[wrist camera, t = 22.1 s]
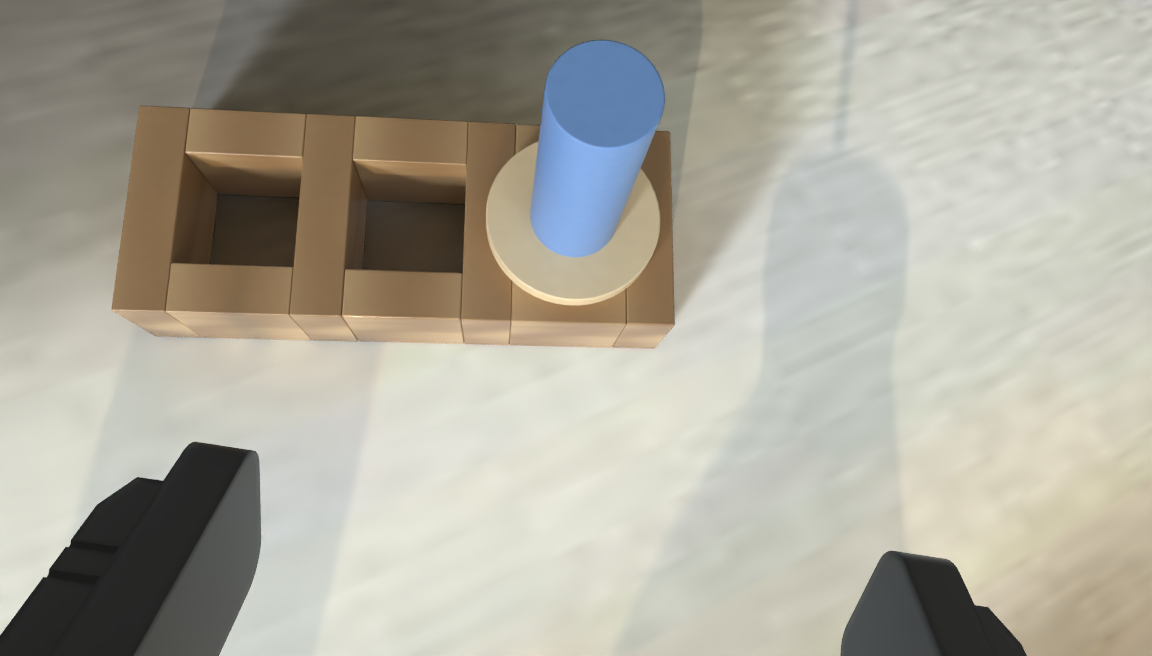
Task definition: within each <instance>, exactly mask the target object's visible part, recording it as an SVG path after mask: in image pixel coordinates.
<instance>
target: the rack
mask: <svg viewBox="0 0 1152 656" xmlns="http://www.w3.org/2000/svg"><path fill="white" fill-rule="evenodd" d="M539 133H540V125H523V124H517V125H515V124H510V123H489V122H467V121H449V120H429V119H408V118H387V117H367V116H356V117H355V116H344V115H323V114H307V115H306V114H300V113H279V112H259V111H238V110H218V109H197V108H191V109H190V108H179V107H159V106H139V113H138V121H137V128H136V135H135V142H134V150H133V157H132V164H131V171H130V179H129V186H128V193H127V200H126V208H125V215H124V222H123V229H122V237H121V244H120V251H119V259H118V266H117V273H116V280H115V288H114V295H113V302H112V311H114V312H116V313H117V314H119V315H121V316H122V317H124V318H126V319H127V320H129V321H131V322H132V323H134V324H136V325H138V326H139V327H141V328H143V329H144V330H146V331H148V332H149V333H151V334H153V335H154V336H169V337H208V338H248V339H288V340H330V341H358V340H359V341H377V342H417V343H457V344H462V343H465V344H490V345H509V344H510V345H531V346H572V347H616V348H655V347H656V346H657V345H658V344H659V343H660V341H661V340H662V339H663V338H664V337H665V336H666V334H667V333H668V332H669V331H670V330H671V329H672V328H673V326H674V325H675V314H674V272H673V230H672V188H671V145H670V132H668V131H655V134H654V136H653V139H652V141H651V144H650V146H649V149H648V151H647V154H646V156H645V158H644V161H643V163H642V166H641V169H642V171H643V172H644V173H645V175H646V176H647V178H648V179H649V181H650V183H651V185H652V187H653V189H654V191H655V194H656V197H657V200H658V204H659V210H660V233H659V238H658V242H657V245H656V248H655V250H654V253H653V255H652V257H651V259H650V260H649V262H648V264H647V266H646V267H645V269H644V271H643V272H642V273H641V274H640V276H639V277H638V278H637V279H636V280H635V281H634V282H633V283H632V284H631V285H630V286H629V287H627V288H626V289H625V290H623V291H622V292H621V293H619V294H617V295H615V296H613V297H611V298H609V299H606V300H604V301H601V302H597V303H593V304H588V305H579V306H577V305H561V304H555V303H551V302H548V301H544V300H542V299H540V298H537V297H535V296H533V295H531V294H529V293H528V292H526V291H524V290H523V289H521V288H520V287H519V286H517V285H516V284H515V283H514V282H513V281H512V280H511V279H510V278H509V277H508V276H507V275H506V274H505V273H504V271H503V270H502V269H501V267H500V266H499V264H498V263H497V261H496V259H495V258H494V255H493V253H492V250H491V248H490V245H489V241H488V237H487V230H486V205H487V199H488V195H489V192H490V188H491V186H492V184H493V182H494V180H495V177H496V176H497V174H498V173H499V171H500V170H501V168H502V167H503V166H504V165H505V164H506V163H507V161H508V160H509V159H511V158H512V157H513V156H514V155H515V154H516V153H518V152H519V151H521V150H522V149H524V148H525V147H527V146H529V145H531V144H533V143H535V142H538V141H539ZM218 194H228V195H253V196H278V197H300V198H299V209H298V221H297V232H296V244H295V256H294V267H282V266H251V265H220V264H210V261H211V252H212V243H213V234H214V225H215V216H216V207H217V198H218ZM367 199H368V200H374V201H399V202H424V203H449V204H465V223H464V250H463V275H462V273H457V272H426V271H396V270H365V269H363V259H364V243H365V228H366V213H367Z"/></svg>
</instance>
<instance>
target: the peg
mask: <svg viewBox="0 0 1152 656" xmlns="http://www.w3.org/2000/svg"><path fill="white" fill-rule="evenodd" d="M664 104H665V92H664V87H663V83H662V80H661V78H660V76H659V74H658V72H657V70H656V68H655V67H654V65H653V64H652V63H651V62H650V61H649V60H648V59H647V58H646V57H645V56H644V55H643V54H642V53H640V52H639V51H638V50H636V49H634V48H632V47H630V46H628V45H626V44H623V43H620V42H616V41H611V40H592V41H587V42H583V43H580V44H578V45H576V46H573V47H572V48H570V49H568V50H567V51H565V52H564V53H563V54H562V55H561V56H560V57H559V58H558V59H557V60H556V61H555V62H554V64H553V65H552V67H551V69H550V71H549V73H548V76H547V79H546V83H545V91H544V99H543V108H542V116H541V124H540V133H539V141H538V142H535V143H533V144H531V145H529V146H527V147H525V148H524V149H522V150H521V151H519V152H518V153H516V154H515V155H514V156H513V157H512V158H511V159H509V160H508V161H507V163H506V164H505V165H504V166H503V167H502V168H501V170H500V171H499V173H498V174H497V176H496V177H495V180H494V182H493V184H492V186H491V188H490V192H489V195H488V199H487V205H486V230H487V237H488V241H489V245H490V248H491V250H492V253H493V255H494V258H495V259H496V261H497V263H498V264H499V266H500V267H501V269H502V270H503V271H504V273H505V274H506V275H507V276H508V277H509V278H510V279H511V280H512V281H513V282H514V283H515V284H516V285H517V286H519V287H520V288H521V289H523V290H524V291H526V292H528V293H529V294H531V295H533V296H535V297H537V298H540V299H542V300H544V301H548V302H551V303H555V304H561V305H577V306H579V305H588V304H593V303H597V302H601V301H604V300H606V299H609V298H611V297H613V296H615V295H617V294H619V293H621V292H622V291H623V290H625V289H626V288H627V287H629V286H630V285H631V284H632V283H633V282H634V281H635V280H636V279H637V278H638V277H639V276H640V274H641V273H642V272H643V271H644V269H645V267H646V266H647V264H648V262H649V260H650V259H651V257H652V255H653V253H654V250H655V248H656V245H657V242H658V238H659V233H660V210H659V204H658V200H657V197H656V194H655V191H654V189H653V187H652V185H651V183H650V181H649V179H648V178H647V176H646V175H645V173H644V172H643V171H642V169H641V166H642V163H643V161H644V158H645V156H646V154H647V151H648V149H649V146H650V144H651V141H652V139H653V136H654V134H655V131H656V129H657V126H658V124H659V121H660V119H661V116H662V114H663V110H664Z"/></svg>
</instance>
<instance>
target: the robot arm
mask: <svg viewBox="0 0 1152 656" xmlns="http://www.w3.org/2000/svg"><path fill="white" fill-rule="evenodd" d="M260 546H261V515H260V470H259V458H258V454H257V453H256V451H252V450H245V449H239V448H232V447H226V446H219V445H213V444H206V443H200V442H192V443H191V444H189V445H188V446H187V447H186V448H185V450H184V451H183V452H182V454H181V455H180V457H179V458H178V460H177V461H176V463H175V464H174V466H173V467H172V469H171V470H170V472H169V473H168V475H167V476H166V478H165V479H164V481H159V480H153V479H146V478H139V477H137V478H135V479H134V480H132V481H131V482H130V483H128V484H127V485H125V486H124V487H122V488H121V489H119V490H118V491H116V492H115V493H114V494H112V495H111V496H109V497H108V498H106V499H105V500H103V501H102V502H100V503H99V504H97V506H96V507H95V508H94V510H93V511H92V512H91V514H90V515H89V516H88V518H87V519H86V520H85V522H84V523H83V525H82V526H81V527H80V529H79V530H78V531H77V533H76V534H75V535H74V537H73V538H72V539H71V544H70V546H69V547H65V549H64V550H63V552H62V553H61V554H60V556H59V557H58V558H57V560H56V561H55V562H54V564H53V565H52V566H51V568H50V569H49V574H48V576H47V578H46V577H43V579H42V580H41V581H40V583H39V584H38V585H37V587H36V588H35V589H34V591H33V592H32V593H31V595H30V596H29V597H28V599H27V600H26V601H25V603H24V604H23V606H22V607H21V608H20V610H19V611H18V612H17V614H16V615H15V616H14V618H13V619H12V620H11V622H10V623H9V624H8V626H7V627H6V628H5V630H4V631H3V633H2V634H1V635H0V656H219V654H220V652H221V650H222V648H223V645H224V643H225V641H226V639H227V637H228V635H229V632H230V630H231V628H232V626H233V624H234V622H235V620H236V617H237V615H238V613H239V611H240V609H241V607H242V604H243V602H244V600H245V598H246V596H247V594H248V591H249V589H250V587H251V584H252V581H253V578H254V575H255V571H256V568H257V563H258V559H259V553H260ZM841 656H1027V655H1026V653H1025V651H1024V649H1023V647H1022V645H1021V643H1020V642H1019V641H1018V640H1017V639H1016V638H1015V637H1014V636H1013V634H1012V633H1011V632H1010V631H1009V630H1008V629H1007V628H1006V627H1005V626H1004V624H1003V623H1002V622H1001V621H1000V620H999V619H998V618H997V617H996V616H995V614H994V613H993V612H992V611H991V610H990V609H989V608H988V607H983V606H976V605H974V603H973V601H972V599H971V597H970V594H969V592H968V590H967V588H966V586H965V584H964V582H963V579H962V577H961V575H960V573H959V571H958V569H957V567H956V566H955V565H954V564H953V563H952V562H951V561H950V560H947V559H942V558H936V557H929V556H923V555H916V554H910V553H903V552H897V551H888V552H886V553H885V554H884V555H883V556H882V557H881V559H880V560H879V562H878V564H877V566H876V568H875V570H874V572H873V574H872V576H871V578H870V580H869V582H868V584H867V586H866V588H865V590H864V592H863V594H862V596H861V598H860V600H859V602H858V604H857V606H856V608H855V610H854V612H853V614H852V616H851V618H850V620H849V622H848V624H847V626H846V628H845V631H844V634H843V639H842V645H841Z"/></svg>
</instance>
